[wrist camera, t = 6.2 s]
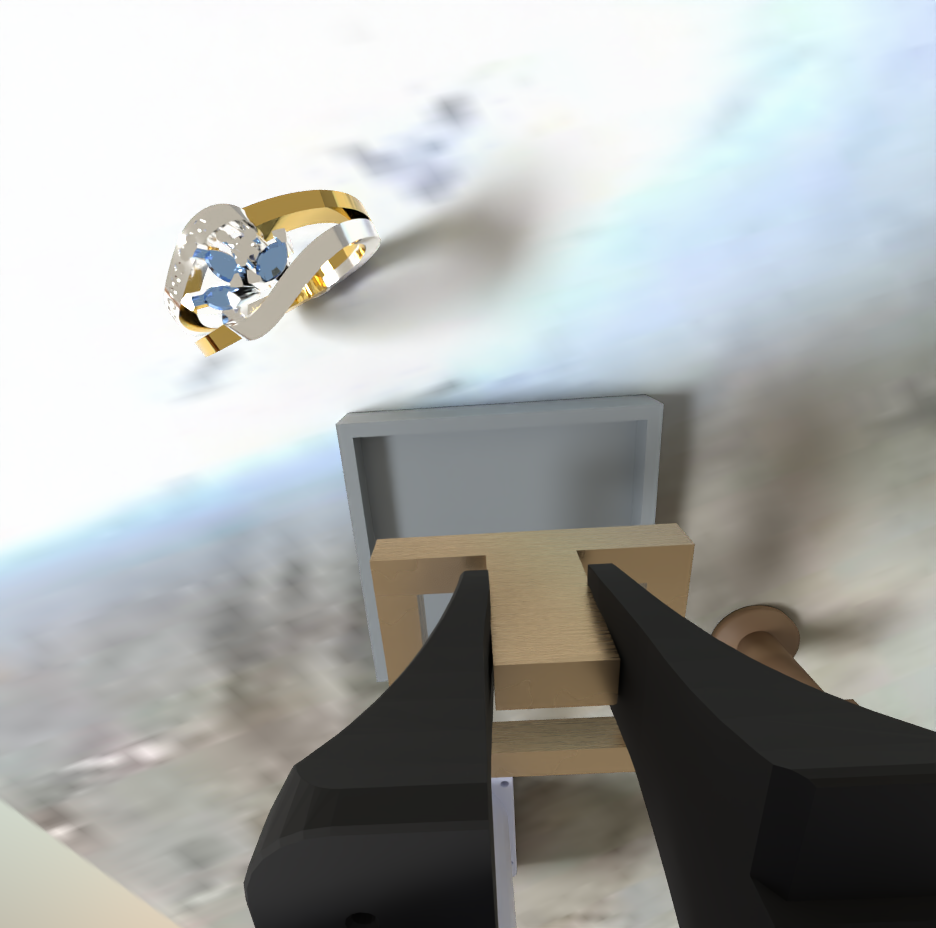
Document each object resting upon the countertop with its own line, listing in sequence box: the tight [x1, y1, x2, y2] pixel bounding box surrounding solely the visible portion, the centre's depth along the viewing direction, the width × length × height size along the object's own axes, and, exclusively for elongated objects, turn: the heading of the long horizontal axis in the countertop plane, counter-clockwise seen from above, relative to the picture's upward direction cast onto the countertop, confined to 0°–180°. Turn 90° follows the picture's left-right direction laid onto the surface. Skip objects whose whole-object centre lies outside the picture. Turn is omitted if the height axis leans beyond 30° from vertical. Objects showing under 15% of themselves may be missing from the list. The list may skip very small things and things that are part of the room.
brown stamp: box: [712, 605, 859, 706], centre depth 22 cm, size 4×4×5 cm
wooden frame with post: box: [369, 523, 695, 778], centre depth 13 cm, size 9×9×5 cm
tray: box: [336, 395, 664, 682], centre depth 22 cm, size 13×13×2 cm
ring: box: [164, 190, 381, 357], centre depth 15 cm, size 7×3×8 cm, turn 117°
